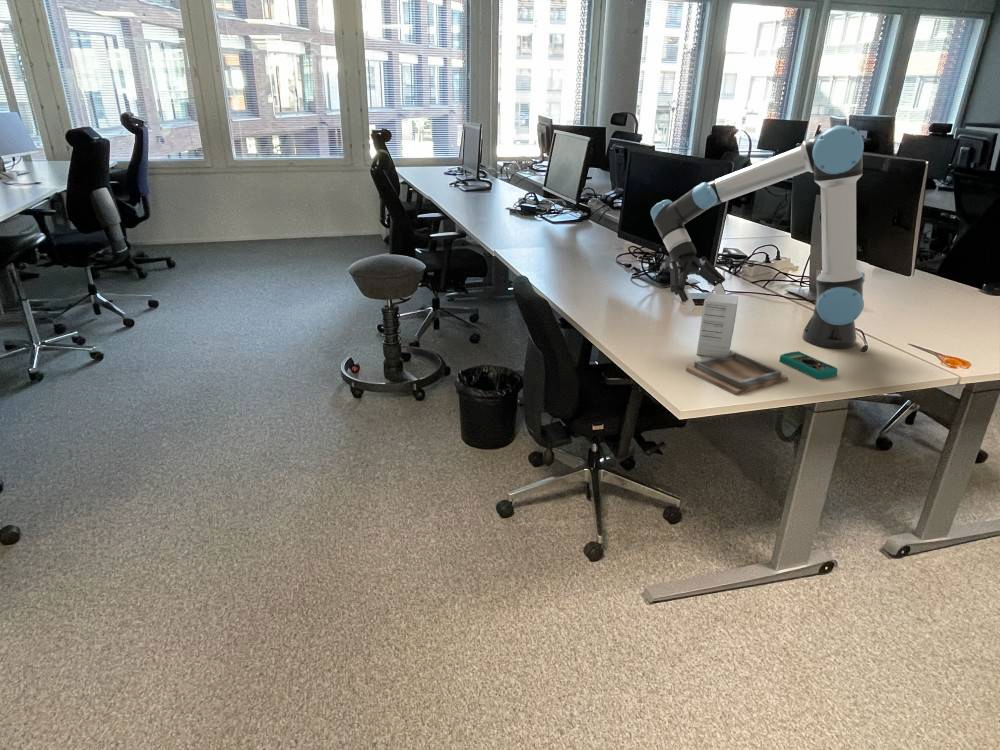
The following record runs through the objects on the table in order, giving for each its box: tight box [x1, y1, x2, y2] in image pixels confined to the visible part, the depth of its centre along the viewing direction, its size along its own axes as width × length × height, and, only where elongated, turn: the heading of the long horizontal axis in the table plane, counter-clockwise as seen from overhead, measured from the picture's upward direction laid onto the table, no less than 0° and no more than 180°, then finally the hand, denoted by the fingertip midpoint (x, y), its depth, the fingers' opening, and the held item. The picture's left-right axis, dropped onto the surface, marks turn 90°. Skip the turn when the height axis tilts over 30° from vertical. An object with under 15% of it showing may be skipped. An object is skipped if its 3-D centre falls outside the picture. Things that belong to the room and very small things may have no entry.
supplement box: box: [696, 292, 739, 358], centre depth 188 cm, size 10×9×17 cm
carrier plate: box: [685, 352, 790, 395], centre depth 174 cm, size 20×18×2 cm
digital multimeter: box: [778, 350, 838, 380], centre depth 179 cm, size 7×15×3 cm, turn 23°
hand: (709, 307), depth 188 cm, fingers open, 13 cm apart
